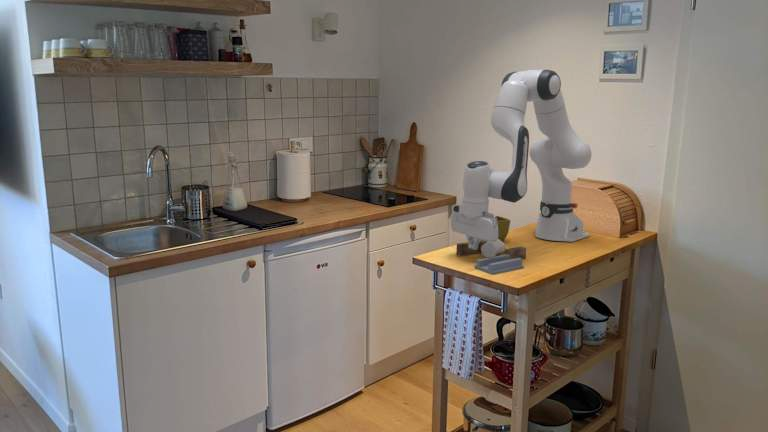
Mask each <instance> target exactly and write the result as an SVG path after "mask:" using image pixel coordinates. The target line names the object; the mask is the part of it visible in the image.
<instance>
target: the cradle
mask: <svg viewBox="0 0 768 432" xmlns="http://www.w3.org/2000/svg"><path fill="white" fill-rule="evenodd" d="M524 268H525V266H524V264H523V260H522V259H521V258H516V259H511V260H510V255H508V254H505V255H504V254H502V255H501V254H500V255H495V256H494V257H489V258H488V257H485V258H480V259H476V264H475V265H474V269H476V270H478V271H481V272H484V273H487V274H490V275H492V276H494V275H499V274H502V273H507V272H513V271H516V270H521V269H524Z"/></svg>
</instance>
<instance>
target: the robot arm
mask: <svg viewBox="0 0 768 432" xmlns="http://www.w3.org/2000/svg"><path fill="white" fill-rule="evenodd" d="M561 82H562V81H561V78H560V76H559V74H558V73H557V72H556V71H554V70H551V69H528V70H522V71H513V72H509V73H507V74H506V75H505V76H504V78H503V79H502V82H501V87H500V88H499V92H498V93H497V97H496V98H495V102H494V105H493V108H492V109H493V110H492V112H491V113H492V114H491V117H490V118H491V119H490V123H491V127H492V129H493V131H494V132H496V133H497V134H498V135H499V136H501V137H502V138H504V139H506V140H508V141H509V142H510V143H511V145H512V158H511V169H510V170H509V171H505V170H503V171H502V170H498V169H493V168H491V167H490V164H489V163H488V162H487V161H485V160H483V161H482V160H475V161H474V160H473V161H470V162H468V163H467V164H466V166H465V169H464V173H463V182H462V189H463V196H462V201H461V203H458V204H454V205H452V206H451V211H452V212H451V218H450V219H451V220H450V229H451V230H452V232H455V233H459V234H461V235H465V237H466V241H467V242H468V243H469V246H468V248H469V249H473V250H477V249H478V245H479V243H480V241H481V240H485V241H488V242H493V241H496V240H497V239H498V223H497V218H496V217H495V216H496V215H495V213H490V212H489V203H490V201H489V200H490V199H489V198H492V199H495V200H496V199H497V200H502V201H506V202H509V203H512V204H514V203H517V202H519V201H520V200H522V199H523V198H524V197H525V196H526V194H527V191H528V179H527V176H528V175H527V173H528V161H529V160H528V159H529V158H530V160H531V161H532V163H534V164H535V166H536V167H537V169H538V171H539V174H540V176H541V177H540V178H541V182H542V184H541V185H542V187H541V188H542V189H541V201H540V203H539V210H540V212H539V214H538V218H537V224H536V229H535V230H534V233H535V236H534V237H536V238H538V239H541V240H547V241H554V242H555V241H556V242H567V243H568V242H571V243H573V242H577V241H580V240H581V239H585V238H587V237H590V233H588V232H586V231H584V221H582V219H581V218H580V217H579V216H577V214H576V213H574V209H578V205H579V204H578V203H574V202H572V190H573V189H572V188H573V185H572V182H571V180H570V179H569V178H568V177H566V175H565V173H564V171H563V169H570V170H575V169H576V170H578V169H584V168H586V167H587V166H588V165H589V164H590V162H591V159H592V149H591V147H590V145H589V144H588V143H586V141H584V140H583V139H581V138H580V137H579V136H578V134H577V133H576V132H575V130H574V129H573V127H572V125H571V124H570V120H569V117H568V113H567V109H566V104H565V99H564V97H563V93H562V90H561V86H562V83H561ZM528 102H529V103H530V102H533V109H534V113H535V114H534V115H535V118H536V121H537V126H538V130H539V131H540V132H541V133H542V134H543V135H544V136H546V137H545V138H538V139H535V140H534V141H533V142H532V143H531V144H530V133H529V129H528V128H527V127H526V126H525V117H526V111H527V104H528ZM529 147H530V148H529ZM472 238H474V240H475V242H473V239H472Z"/></svg>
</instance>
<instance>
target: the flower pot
mask: <svg viewBox="0 0 768 432" xmlns="http://www.w3.org/2000/svg"><path fill="white" fill-rule="evenodd" d="M495 217H496V218H497V223H498V239H499V240H501V241H502V242H503V243H504V241H505V239H506V238H507V236H508V234H509V231H510V226H511V219H509V218H507V217H502V216H499V215H495Z"/></svg>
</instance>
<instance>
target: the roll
mask: <svg viewBox="0 0 768 432" xmlns="http://www.w3.org/2000/svg"><path fill="white" fill-rule="evenodd" d="M505 249H506V245H505V243H504V241H503V242H502V241H501V240H499V239H497V240H496V241H493V242H486V243H485V244H483V245H482V247H481V252H482V253H481V254H482V255H483V257H485V258H489V257H495V256H498V254H500V253H501V252H503V251H505Z"/></svg>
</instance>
